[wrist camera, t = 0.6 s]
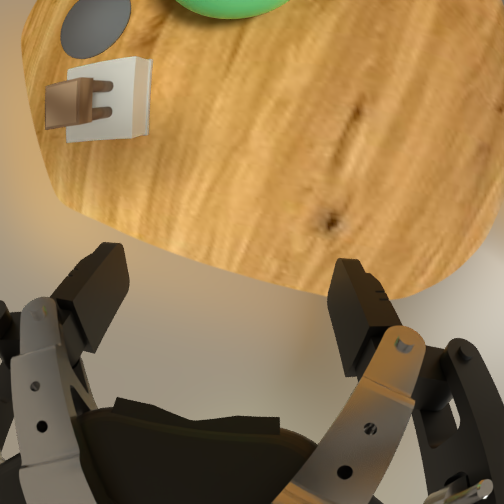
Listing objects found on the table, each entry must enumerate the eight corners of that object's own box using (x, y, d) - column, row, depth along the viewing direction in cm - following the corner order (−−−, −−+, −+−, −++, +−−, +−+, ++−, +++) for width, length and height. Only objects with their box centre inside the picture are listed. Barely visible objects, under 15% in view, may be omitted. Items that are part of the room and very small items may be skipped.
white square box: (86, 69, 28) (66, 68, 23) (153, 59, 28) (137, 54, 23) (85, 138, 33) (65, 144, 28) (148, 134, 33) (133, 139, 29)
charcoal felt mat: (68, -1, 21) (67, -1, 20) (137, -21, 21) (136, -21, 21) (58, 66, 27) (56, 66, 26) (125, 50, 27) (124, 50, 26)
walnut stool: (82, 84, 25) (44, 86, 18) (114, 79, 25) (79, 77, 18) (81, 121, 27) (44, 130, 21) (113, 118, 27) (78, 125, 21)
